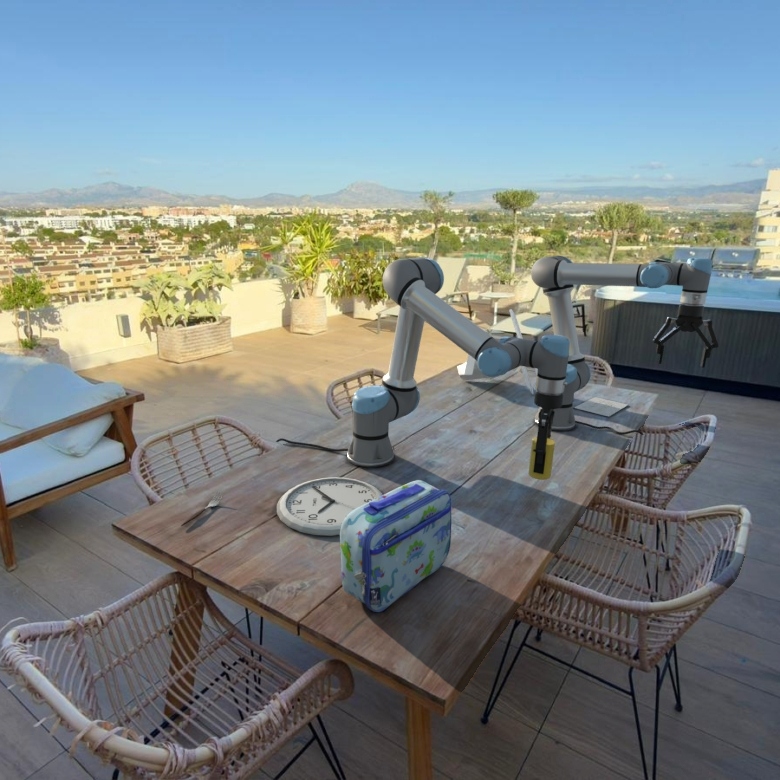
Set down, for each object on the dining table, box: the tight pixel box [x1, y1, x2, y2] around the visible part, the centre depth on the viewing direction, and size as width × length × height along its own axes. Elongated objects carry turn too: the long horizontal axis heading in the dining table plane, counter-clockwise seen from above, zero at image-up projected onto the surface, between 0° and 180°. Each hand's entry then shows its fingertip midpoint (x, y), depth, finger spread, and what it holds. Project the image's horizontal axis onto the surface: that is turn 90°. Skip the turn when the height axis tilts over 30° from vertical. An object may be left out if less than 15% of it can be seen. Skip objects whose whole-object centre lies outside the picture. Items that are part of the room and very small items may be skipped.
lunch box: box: [339, 479, 452, 613], centre depth 109 cm, size 26×11×21 cm, turn 134°
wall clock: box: [276, 476, 385, 537], centre depth 142 cm, size 30×2×30 cm
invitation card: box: [573, 396, 629, 418], centre depth 226 cm, size 21×1×15 cm
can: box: [528, 436, 556, 481], centre depth 150 cm, size 6×6×11 cm
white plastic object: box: [456, 308, 538, 395], centre depth 252 cm, size 37×45×31 cm
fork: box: [180, 491, 225, 527], centre depth 138 cm, size 3×16×2 cm, turn 160°
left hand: (540, 467), depth 151 cm, fingers closed on can, 6 cm apart
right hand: (680, 364), depth 185 cm, fingers open, 13 cm apart
